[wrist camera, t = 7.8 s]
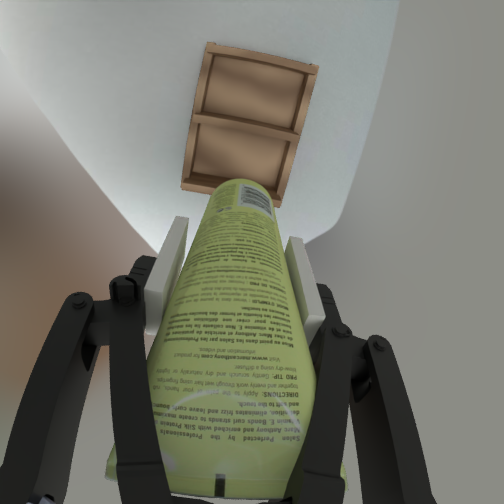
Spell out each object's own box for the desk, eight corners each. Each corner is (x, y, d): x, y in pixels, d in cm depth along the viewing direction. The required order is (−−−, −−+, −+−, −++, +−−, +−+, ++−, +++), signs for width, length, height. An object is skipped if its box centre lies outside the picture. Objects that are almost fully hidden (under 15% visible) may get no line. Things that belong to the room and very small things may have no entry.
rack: (211, 46, 32) (204, 39, 27) (311, 67, 34) (323, 65, 29) (186, 177, 43) (177, 192, 37) (277, 194, 45) (282, 212, 39)
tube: (231, 251, 25) (216, 512, 8) (188, 208, 22) (101, 481, 6) (286, 211, 23) (350, 492, 6) (244, 162, 21) (238, 476, 4)
